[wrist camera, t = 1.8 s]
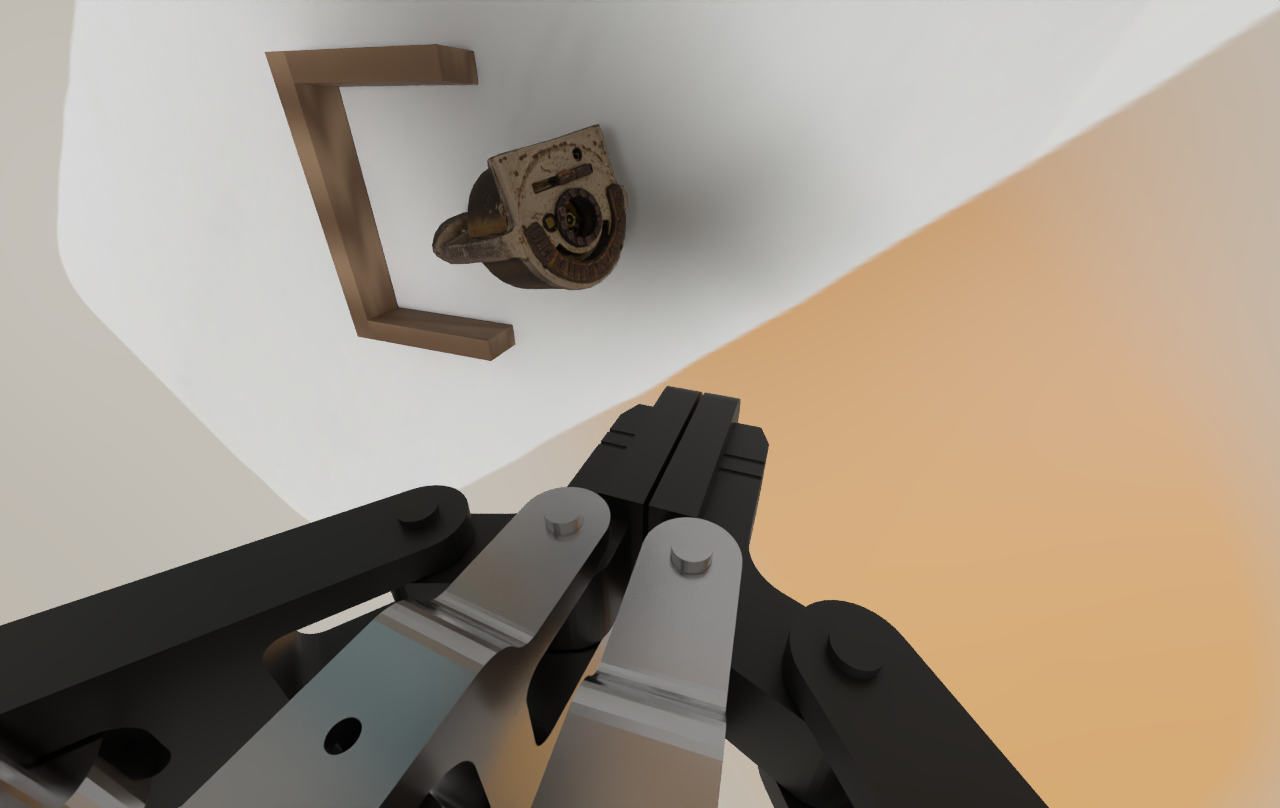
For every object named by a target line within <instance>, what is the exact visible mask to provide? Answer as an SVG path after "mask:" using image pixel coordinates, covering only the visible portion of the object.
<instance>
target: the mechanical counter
mask: <svg viewBox="0 0 1280 808" xmlns="http://www.w3.org/2000/svg"><path fill="white" fill-rule="evenodd" d="M487 163H488V169H487V170H486V171H484V172H483V173H482V174H481V175H480V177H479V178H478V180H477V181H476V182H475V184H474V185H473V188H472V191H471V193H470V197H469V204H468V212H466V213H462V214H459V215H456V216H454V217H452V218H449V219H447V220H446V221H445V222H443V223H442V224H441V225H440V226H439V228H438V229H437V231H436V233H435V235H434V239H433V244H432V247H433V252H434V253H435V254H436V256H437V257H439V258H441V259H442V260H444V261H446V262H448V263H450V264H469V263H477V262H482V263H483V264H484V265H485V266H486V267H487V268H488V269H489V271H490V272H491V273H492V274H493V275H495V276H496V277H497V278H499V279H500V280H501V281H503V282H505V283H507V284H510V285H512V286H514V287H518V288H523V289H567V290H581V289H586V288H591V287H592V286H594V285H596V284H598V283H600V282H601V281H602V280H603V279H605V278H606V277H607V276H608V275H609V274H610V273H611V272H612V270H613V269H614V268H615V266H616V265H617V262H618V260H619V257H620V254H621V251H622V248H623V244H624V239H625V229H626V214H625V209H626V207H627V206H628V201H627V193H626V191H625V189H624V186H623V185H619V184H617V181H616V179H615V176H614V173H613V170H612V166H611V163H610V159H609V155H608V152H607V148H606V145H605V141H604V138H603V134H602V131H601V129H600V126H599V124H597V125H594V126H591V127H588V128H584V129H581V130H578V131H576V132H573V133H570V134H567V135H564V136H562V137H559V138H555V139H552V140H548V141H545V142H541V143H538V144H534V145H531V146H527V147H523V148H519V149H516V150H512V151H508V152H505V153H501V154H498V155H496V156H493V157H491V158H489V159H488V162H487Z"/></svg>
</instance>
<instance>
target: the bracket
mask: <svg viewBox="0 0 1280 808" xmlns="http://www.w3.org/2000/svg"><path fill="white" fill-rule="evenodd" d="M265 54H266V57H267V60H268V63H269V66H270V69H271V72H272V75H273V79H274V82H275V85H276V88H277V91H278V94H279V97H280V100H281V103H282V106H283V109H284V112H285V115H286V118H287V121H288V124H289V127H290V130H291V133H292V137H293V140H294V143H295V146H296V149H297V152H298V155H299V158H300V161H301V164H302V167H303V170H304V173H305V176H306V179H307V182H308V185H309V188H310V191H311V195H312V198H313V201H314V204H315V207H316V210H317V213H318V216H319V219H320V222H321V225H322V228H323V231H324V234H325V237H326V240H327V243H328V246H329V249H330V253H331V256H332V259H333V262H334V265H335V268H336V271H337V274H338V277H339V280H340V283H341V286H342V289H343V292H344V295H345V298H346V301H347V304H348V307H349V310H350V314H351V317H352V320H353V323H354V326H355V329H356V332H357V335H358V337H364V338H369V339H375V340H380V341H386V342H391V343H396V344H402V345H407V346H413V347H418V348H423V349H429V350H434V351H440V352H445V353H451V354H456V355H461V356H467V357H472V358H478V359H483V360H489V361H492V360H493V359H495V358H496V357H498V356H499V355H500V354H502V353H503V352H505V351H506V350H508V349H509V348H511V347H512V346H513V345H515V340H514V333H513V326H512V325H507V324H501V323H494V322H488V321H481V320H475V319H469V318H462V317H456V316H449V315H443V314H437V313H430V312H424V311H417V310H411V309H405V308H398V306H397V302H396V298H395V294H394V291H393V287H392V283H391V280H390V276H389V272H388V269H387V265H386V261H385V258H384V254H383V250H382V246H381V243H380V239H379V235H378V232H377V228H376V224H375V221H374V217H373V213H372V209H371V206H370V202H369V198H368V195H367V191H366V187H365V184H364V180H363V176H362V173H361V169H360V165H359V161H358V158H357V154H356V150H355V147H354V143H353V139H352V136H351V132H350V128H349V124H348V121H347V117H346V113H345V110H344V106H343V102H342V99H341V95H340V91H339V88H338V87H341V86H408V85H476V84H478V79H477V72H476V65H475V58H474V51H468V50H463V49H458V48H453V47H447V46H442V45H437V44H432V45H410V46H388V47H366V48H344V49H322V50H300V51H278V52H265Z"/></svg>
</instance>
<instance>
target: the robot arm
mask: <svg viewBox="0 0 1280 808" xmlns="http://www.w3.org/2000/svg"><path fill="white" fill-rule="evenodd" d="M739 410H740V399H738V398H733V397H727V396H722V395H716V394H711V393H704V395H702V392H699V391H693V390H687V389H682V388H676V387H671V386H667V387H666V388H665V389H664V391H663V392H662V394H661V396H660V397H659V399H658V400H657V402H656V403H655V405H654V406H653V407H652V406H646V405H641V404H638V405H636V406H635V407H633V408H632V409H630V410H628V411H626V412H624V413H623V414H621V415H620V416H619V418H618V419H617V420H616V422H615V423H614V424H613V426H612V427H611V428H610V432H607V434H606V435H605V437H604V438H603V439H602V441H601V444H599V445H598V446H597V447H596V449H595V450H594V451H593V453H592V454H591V455H590V457H589V458H588V459H587V461H586V462H585V463H584V465H583V466H582V468H581V469H580V470H579V472H578V473H577V474H576V476H575V477H574V479H573V480H572V481H571V482H570V484H569V485H568V486H567V487H561V488H555V489H551V490H548V491H546V492H543V493H541V494H539V495H537V496H536V497H534V498H533V499H531V500H530V501H529V502H528V503H527V504H526V505H525V506H524V507H523V508H522V509H521V510H520V511H519V512H518V513H516V514H470V510H469V507H468V502H467V499H466V498H465V496H464V495H463V494H462V493H461V492H460V491H458V490H456V489H454V488H451V487H447V486H438V485H434V486H425V487H419V488H416V489H412V490H409V491H406V492H403V493H400V494H397V495H394V496H391V497H388V498H385V499H382V500H379V501H376V502H373V503H370V504H367V505H364V506H361V507H358V508H354V509H351V510H348V511H345V512H342V513H339V514H336V515H333V516H330V517H327V518H324V519H321V520H318V521H315V522H312V523H309V524H306V525H303V526H300V527H297V528H294V529H291V530H288V531H285V532H282V533H279V534H276V535H273V536H270V537H267V538H264V539H261V540H258V541H255V542H252V543H249V544H246V545H243V546H240V547H237V548H234V549H231V550H228V551H225V552H222V553H219V554H216V555H213V556H209V557H206V558H203V559H200V560H198V561H194V562H191V563H189V564H185V565H182V566H179V567H177V568H174V569H170V570H168V571H164V572H161V573H158V574H155V575H152V576H149V577H147V578H143V579H140V580H137V581H134V582H131V583H128V584H125V585H122V586H119V587H116V588H113V589H110V590H107V591H104V592H101V593H98V594H95V595H92V596H89V597H86V598H83V599H80V600H77V601H73V602H71V603H68V604H64V605H61V606H58V607H56V608H53V609H49V610H46V611H43V612H40V613H37V614H34V615H31V616H28V617H25V618H22V619H19V620H16V621H13V622H10V623H7V624H4V625H1V626H0V808H179V807H180V808H718V798H719V790H720V781H721V772H722V763H723V754H724V744H725V738H726V739H727V740H728V741H730V743H732V744H733V745H734V746H735V747H737V748H738V749H739V750H740V751H741V752H742V753H744V754H745V755H746V756H747V757H748V758H750V759H751V760H752V761H753V762H754V763H755V764H757V765H758V769H759V773H760V776H761V779H762V781H763V784H764V786H765V789H766V791H767V793H768V795H769V797H770V799H771V802H772V804H773V806H774V808H1049V807H1048V806H1047V805H1046V804H1045V803H1044V801H1042V799H1041V798H1040V797H1039V796H1038V795H1037V793H1036V792H1035V791H1034V790H1033V789H1032V787H1031V786H1030V785H1029V784H1028V783H1027V782H1026V780H1025V779H1024V778H1023V777H1022V776H1021V775H1020V773H1019V772H1018V771H1017V770H1016V769H1015V767H1014V766H1013V765H1012V764H1011V763H1010V762H1009V760H1008V759H1007V758H1006V757H1005V756H1004V755H1003V753H1002V752H1001V751H1000V750H999V749H998V748H997V746H996V745H995V744H994V743H993V742H992V740H990V738H989V737H988V736H987V735H986V734H985V732H984V731H983V730H982V729H981V728H980V726H979V725H978V724H977V723H976V722H975V721H974V719H973V718H972V717H971V716H970V715H969V713H968V712H967V711H966V710H965V709H964V708H963V706H962V705H961V704H960V703H959V702H958V701H957V699H956V698H955V697H954V696H953V695H952V694H951V692H950V691H949V690H948V689H947V688H946V687H945V685H944V684H943V683H942V682H941V681H940V680H939V678H938V677H937V676H936V675H935V674H934V672H933V671H932V670H931V669H930V668H929V667H928V666H927V664H926V663H925V662H924V661H923V660H922V658H921V657H920V656H919V655H918V654H917V653H916V651H915V650H914V649H913V648H912V647H911V645H910V644H909V643H908V642H907V641H906V640H905V638H904V637H903V636H902V635H901V634H900V633H899V632H898V631H897V630H896V629H895V628H894V627H893V626H891V624H890V623H888V622H887V621H886V620H885V619H883V618H882V617H880V616H879V615H877V614H876V613H874V612H872V611H870V610H868V609H866V608H864V607H862V606H859V605H856V604H854V603H849V602H845V601H838V600H824V601H820V602H815V603H813V604H810V605H808V606H807V607H805V606H803V605H802V604H800V603H798V602H797V601H795V600H793V599H792V598H790V597H788V596H787V595H785V594H783V593H781V592H780V591H779V590H777V589H776V588H774V587H773V586H772V585H771V584H770V583H769V582H767V581H766V580H765V578H763V576H762V575H761V574H760V573H759V571H758V570H757V569H756V567H755V565H754V563H753V561H752V559H751V556H750V553H749V544H750V539H751V534H752V530H753V525H754V520H755V515H756V511H757V506H758V500H759V496H760V490H761V485H762V479H763V474H764V469H765V463H766V458H767V453H768V446H769V444H768V441H767V439H766V437H765V435H764V433H763V430H762V428H760V427H755V426H749V425H744V424H740V423H738V418H739ZM390 591H391V593H392V595H393V598H394V600H395V602H393V603H390V604H388V605H386V606H383V607H381V608H379V609H376V610H374V611H372V612H369V613H367V614H365V615H362V616H360V617H358V618H355V619H353V620H351V621H348V622H346V623H344V624H341V625H339V626H336V627H334V628H332V629H330V630H327V631H324V632H322V633H316V634H304V633H300V632H298V631H296V630H299V629H301V628H303V627H306V626H308V625H311V624H313V623H315V622H318V621H320V620H323V619H325V618H327V617H330V616H332V615H334V614H337V613H339V612H342V611H344V610H346V609H349V608H351V607H354V606H356V605H359V604H361V603H363V602H366V601H368V600H371V599H373V598H375V597H378V596H380V595H382V594H385V593H387V592H390ZM597 668H598V669H597Z"/></svg>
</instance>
